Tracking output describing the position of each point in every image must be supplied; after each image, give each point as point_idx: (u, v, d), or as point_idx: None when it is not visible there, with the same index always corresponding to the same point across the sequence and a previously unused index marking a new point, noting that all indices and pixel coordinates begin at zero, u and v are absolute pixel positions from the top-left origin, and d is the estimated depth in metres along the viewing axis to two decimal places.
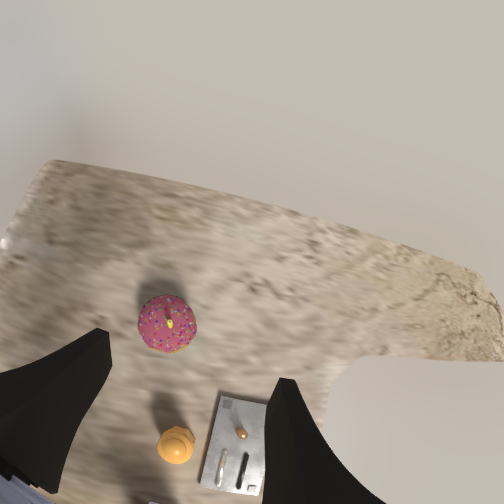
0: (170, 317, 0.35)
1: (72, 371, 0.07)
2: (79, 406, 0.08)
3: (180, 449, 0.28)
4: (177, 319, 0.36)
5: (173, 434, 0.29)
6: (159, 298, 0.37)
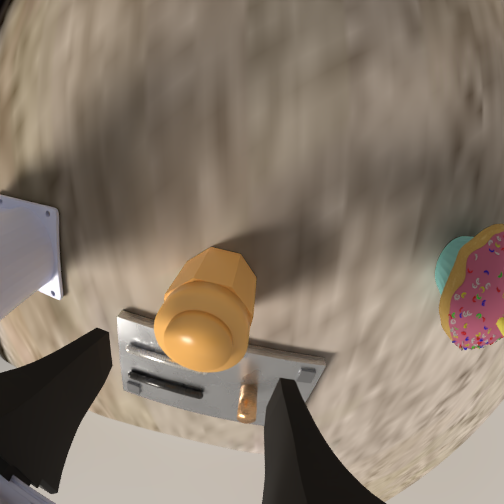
0: None
1: (72, 371, 0.07)
2: (79, 406, 0.08)
3: (201, 359, 0.12)
4: None
5: (245, 339, 0.12)
6: None
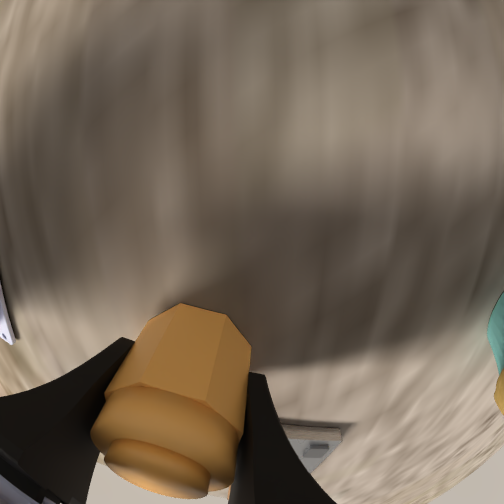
0: None
1: (102, 384, 0.07)
2: None
3: (165, 490, 0.06)
4: None
5: (229, 475, 0.06)
6: None
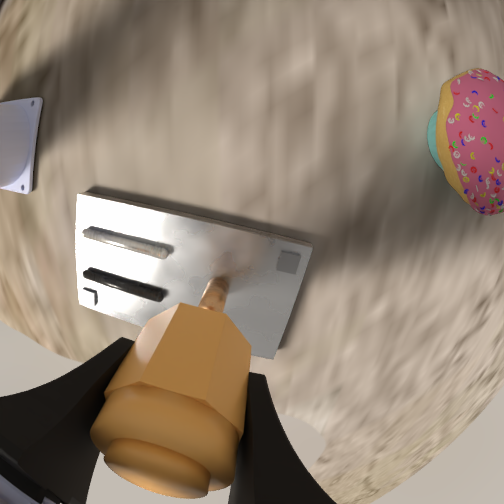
0: None
1: (102, 384, 0.07)
2: None
3: (165, 490, 0.06)
4: None
5: (229, 474, 0.06)
6: None
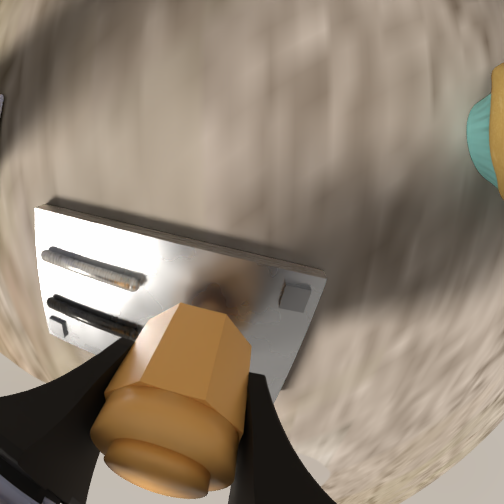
0: None
1: (102, 384, 0.07)
2: None
3: (165, 490, 0.06)
4: None
5: (229, 475, 0.06)
6: None
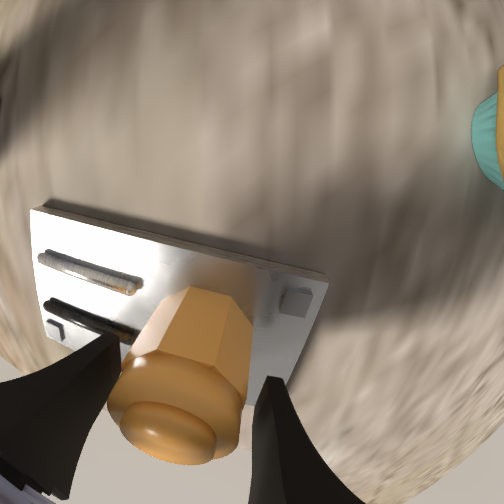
0: None
1: (84, 377, 0.07)
2: (90, 411, 0.08)
3: (174, 455, 0.07)
4: None
5: (234, 437, 0.07)
6: None
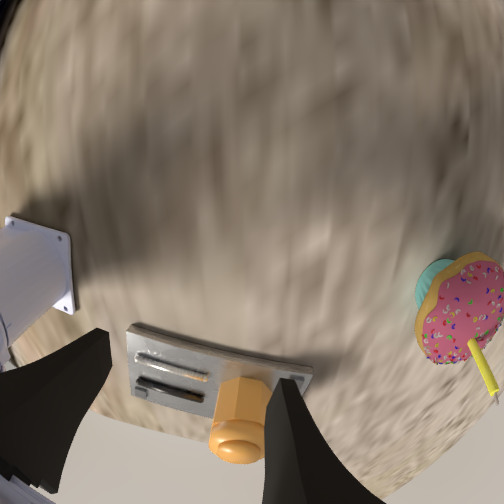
0: (482, 340, 0.13)
1: (72, 371, 0.07)
2: (79, 406, 0.08)
3: (240, 460, 0.17)
4: None
5: None
6: None
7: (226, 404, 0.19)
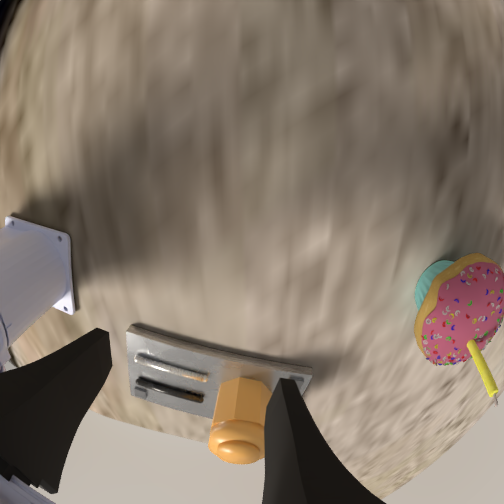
0: (481, 341, 0.13)
1: (73, 371, 0.07)
2: (79, 406, 0.08)
3: (240, 460, 0.17)
4: None
5: None
6: None
7: (226, 404, 0.19)
